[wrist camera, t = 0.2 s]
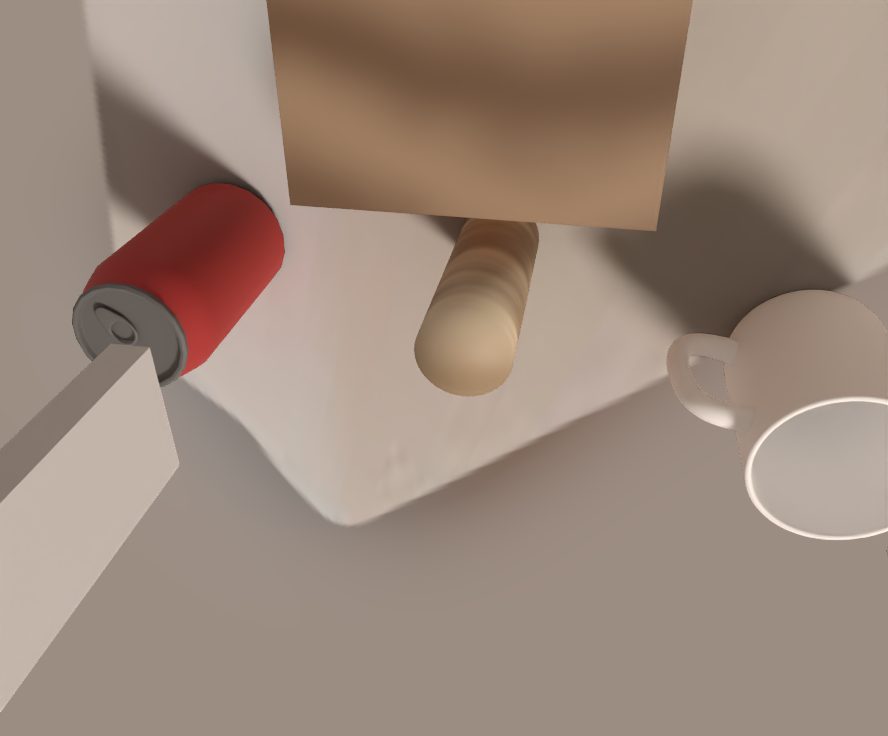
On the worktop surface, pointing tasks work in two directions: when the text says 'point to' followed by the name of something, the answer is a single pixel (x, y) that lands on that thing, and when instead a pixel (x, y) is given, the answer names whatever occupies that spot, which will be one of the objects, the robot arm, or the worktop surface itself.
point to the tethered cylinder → (478, 307)
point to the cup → (802, 410)
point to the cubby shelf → (480, 106)
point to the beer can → (182, 280)
